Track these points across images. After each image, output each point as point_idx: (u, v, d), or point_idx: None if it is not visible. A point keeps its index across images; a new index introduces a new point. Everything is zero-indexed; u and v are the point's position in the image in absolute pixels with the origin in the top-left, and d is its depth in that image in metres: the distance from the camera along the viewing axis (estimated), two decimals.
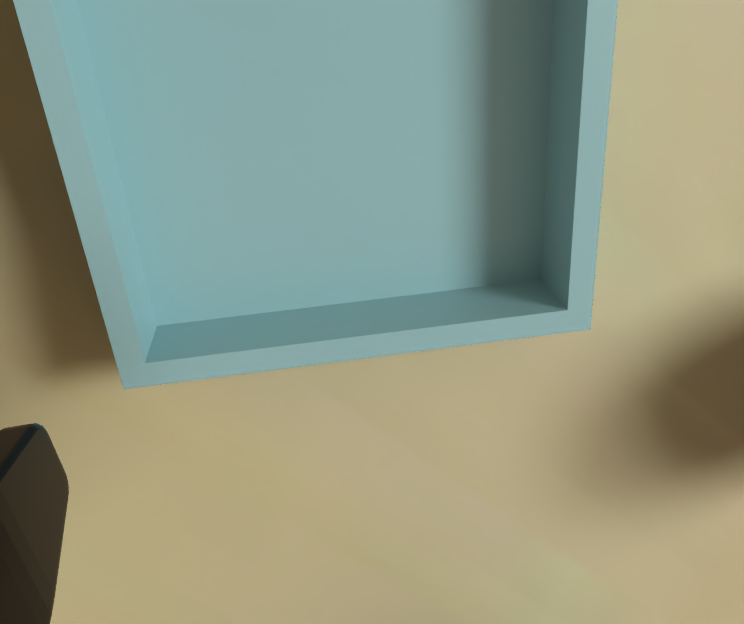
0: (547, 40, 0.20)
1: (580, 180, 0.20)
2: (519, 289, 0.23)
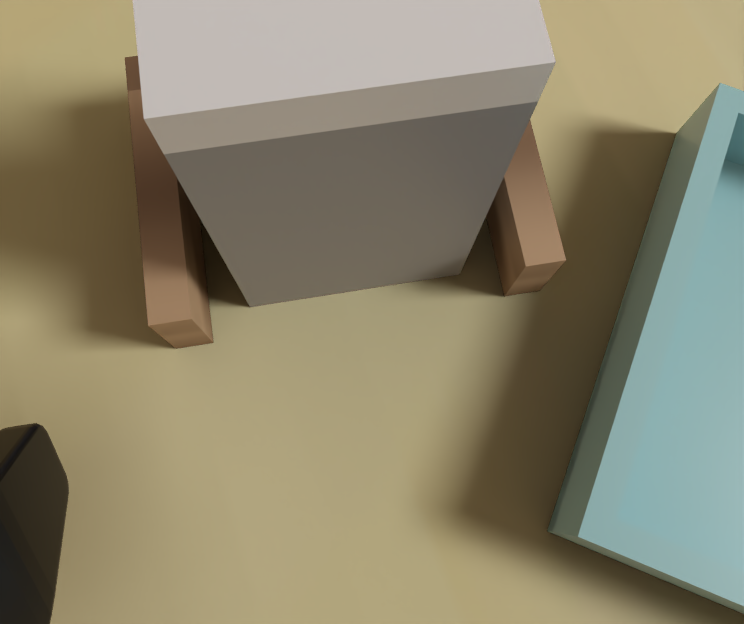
0: None
1: None
2: None
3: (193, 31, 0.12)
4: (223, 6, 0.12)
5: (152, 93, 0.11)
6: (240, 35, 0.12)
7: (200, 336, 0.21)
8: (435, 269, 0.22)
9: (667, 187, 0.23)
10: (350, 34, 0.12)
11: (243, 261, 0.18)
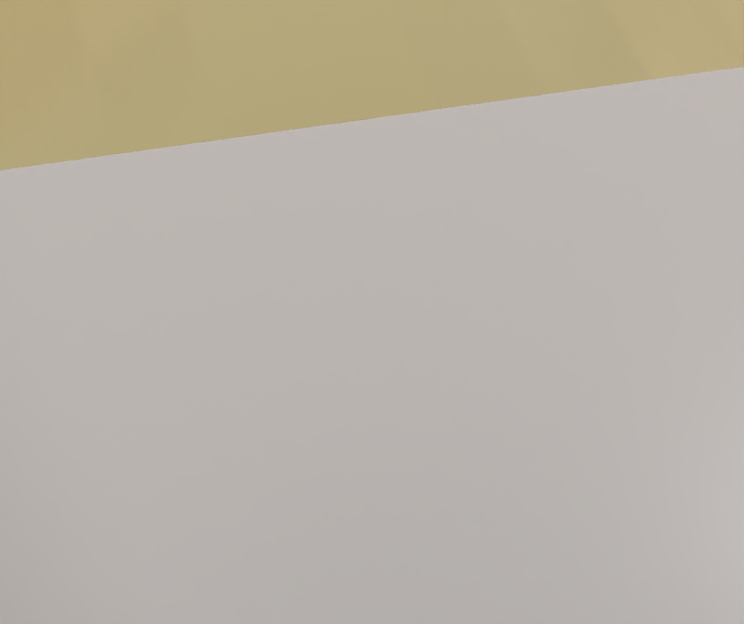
0: None
1: None
2: None
3: None
4: None
5: None
6: None
7: None
8: None
9: None
10: None
11: None
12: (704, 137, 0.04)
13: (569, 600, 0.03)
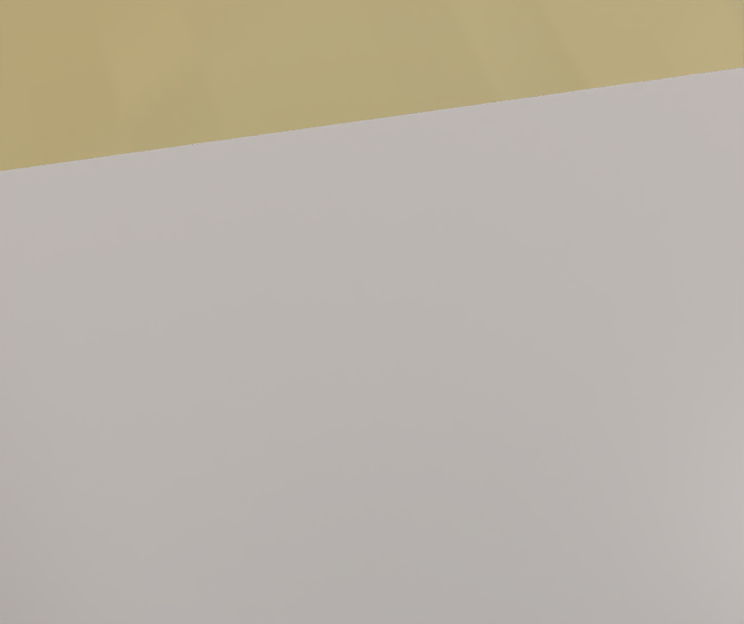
0: None
1: None
2: None
3: None
4: None
5: None
6: None
7: None
8: None
9: None
10: None
11: None
12: (702, 137, 0.04)
13: (569, 601, 0.03)
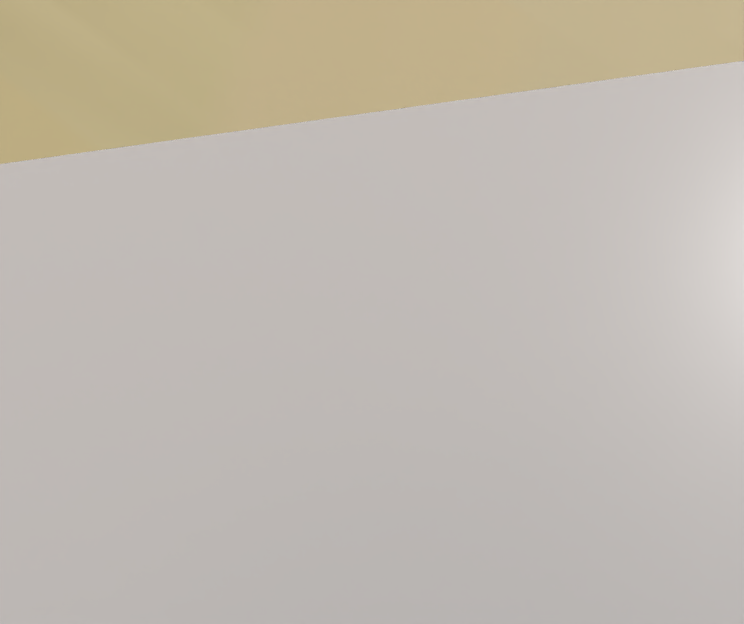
0: None
1: None
2: None
3: None
4: None
5: None
6: None
7: None
8: None
9: None
10: None
11: None
12: (704, 131, 0.04)
13: (570, 594, 0.03)
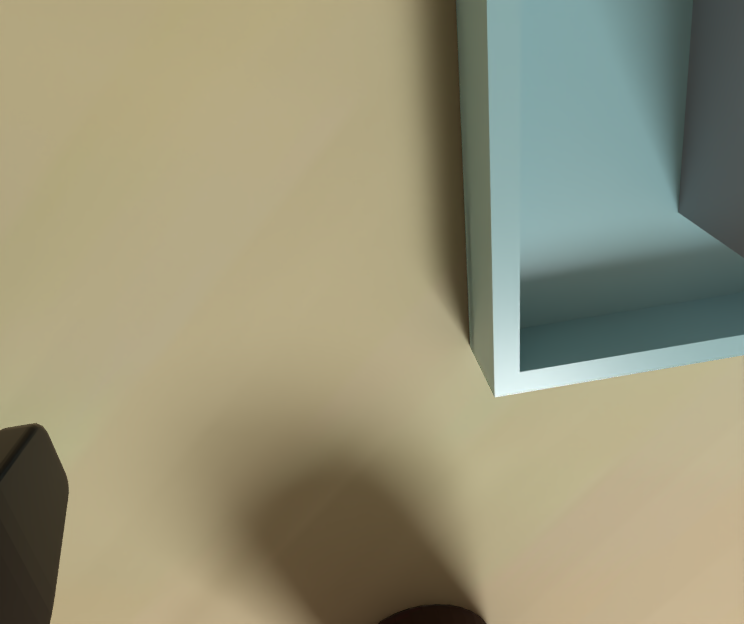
0: (715, 293, 0.23)
1: (647, 353, 0.21)
2: None
3: None
4: None
5: None
6: None
7: None
8: (695, 194, 0.21)
9: None
10: None
11: None
12: None
13: None
